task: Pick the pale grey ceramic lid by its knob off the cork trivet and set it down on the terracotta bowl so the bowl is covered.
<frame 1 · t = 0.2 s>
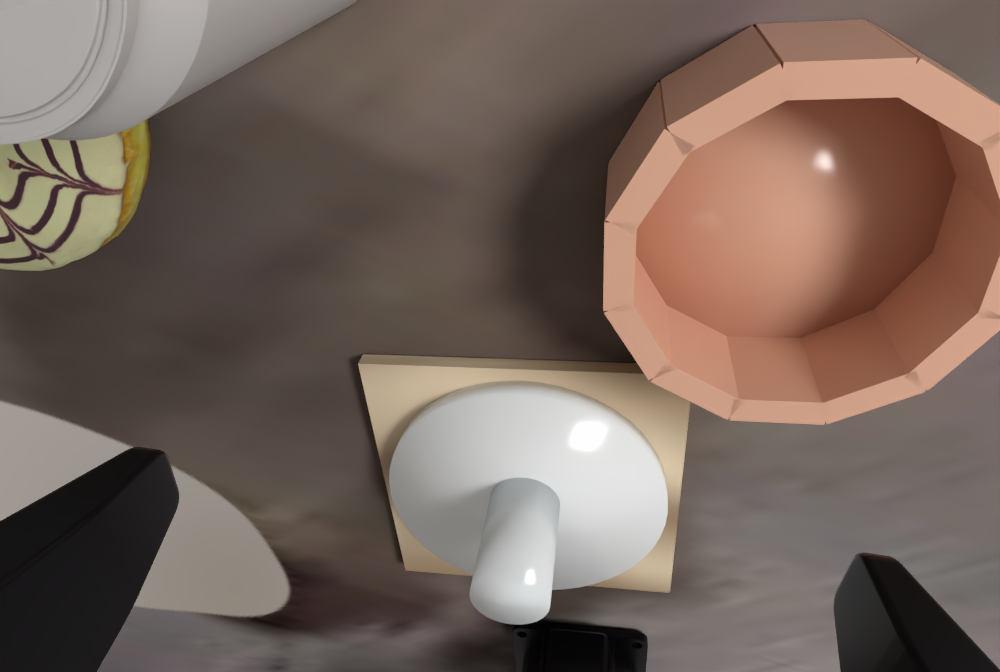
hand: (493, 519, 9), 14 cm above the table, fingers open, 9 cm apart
trivet: (528, 477, 29), on the table
bowl: (778, 204, 21), on the table
decorated donut: (17, 86, 23), on the table
lid: (527, 487, 28), point 1 cm above the table, touching trivet
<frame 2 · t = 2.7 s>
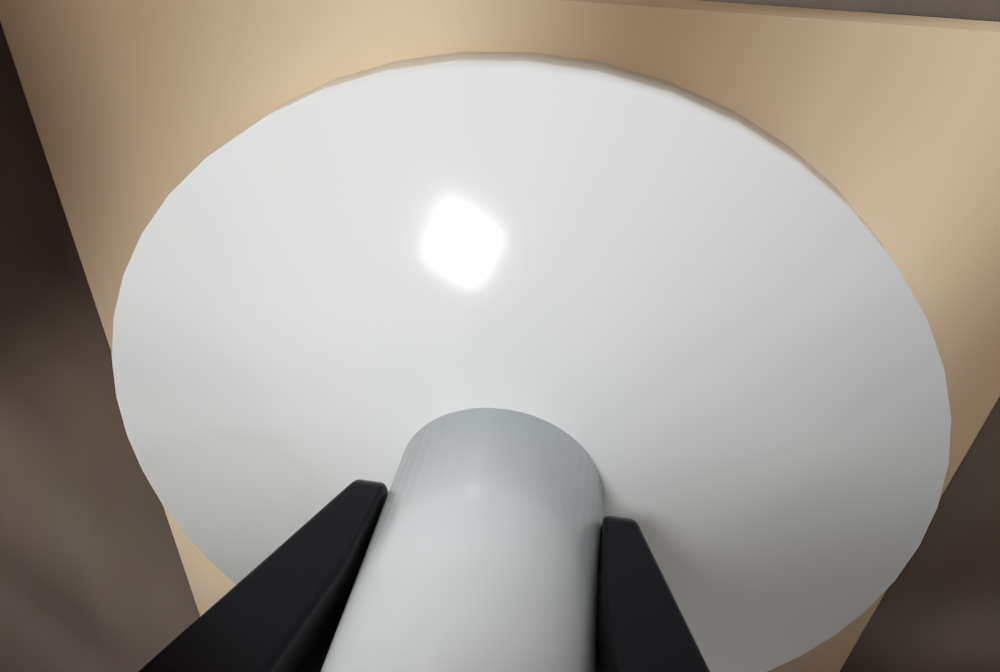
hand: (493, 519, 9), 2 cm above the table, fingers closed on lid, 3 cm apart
trivet: (512, 419, 11), on the table
lid: (508, 446, 10), point 1 cm above the table, touching gripper, trivet
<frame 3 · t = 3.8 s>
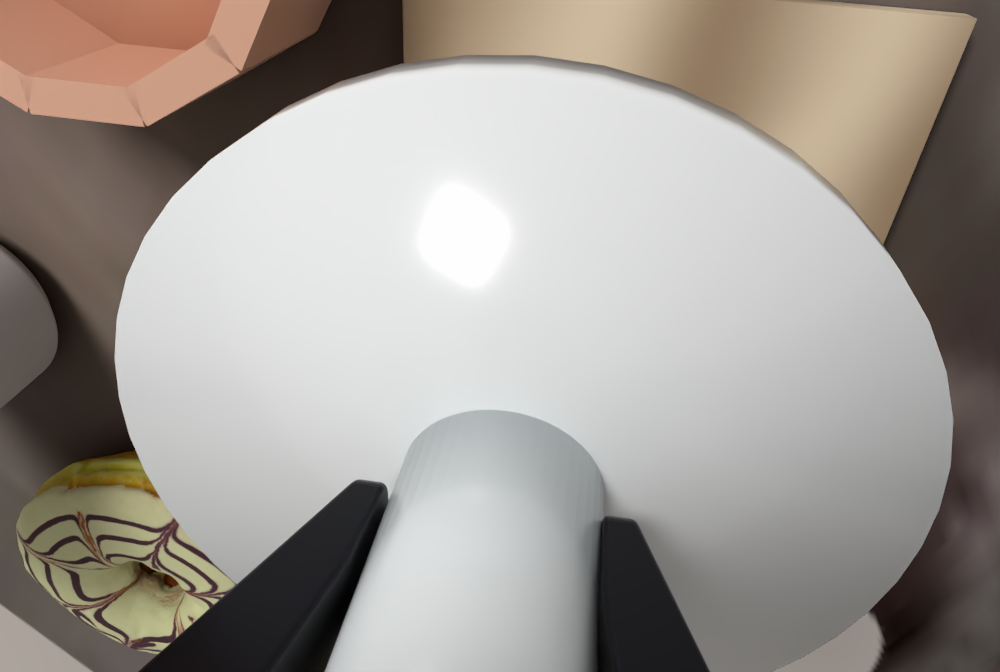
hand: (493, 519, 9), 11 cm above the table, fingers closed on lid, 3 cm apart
trivet: (630, 235, 19), on the table
decorated donut: (191, 523, 30), on the table
lid: (510, 448, 10), point 10 cm above the table, touching gripper
when the fingers open (7 cm above the table, at t = 5.4 s): lid drops 1 cm, resting on bowl.
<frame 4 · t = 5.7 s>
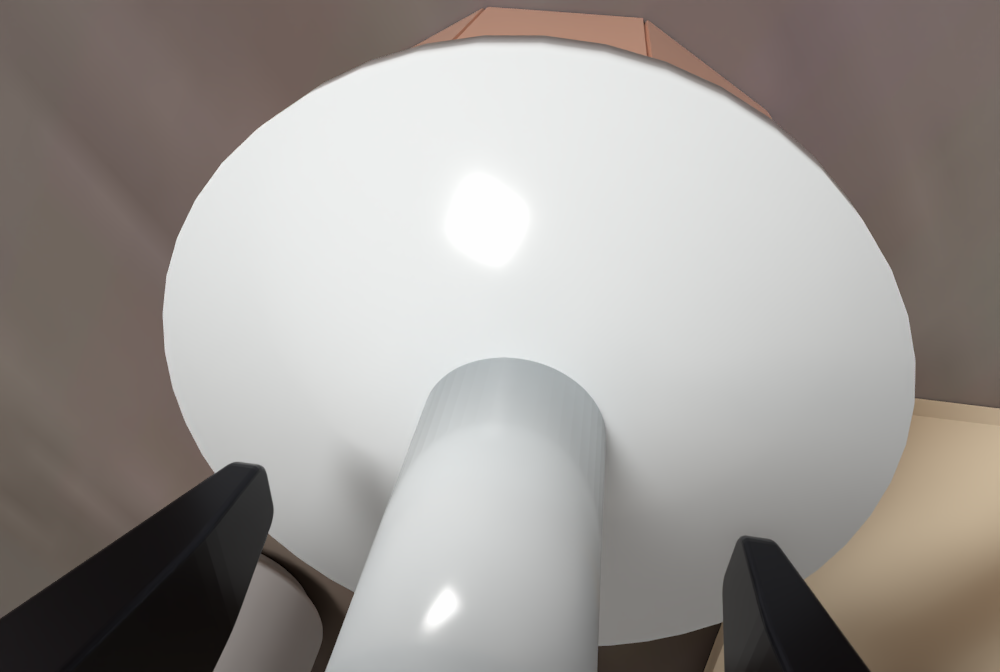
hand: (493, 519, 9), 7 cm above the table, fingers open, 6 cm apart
trivet: (984, 598, 18), on the table
bowl: (541, 273, 14), on the table
lid: (519, 399, 11), point 4 cm above the table, touching bowl
beverage can: (240, 585, 23), on the table
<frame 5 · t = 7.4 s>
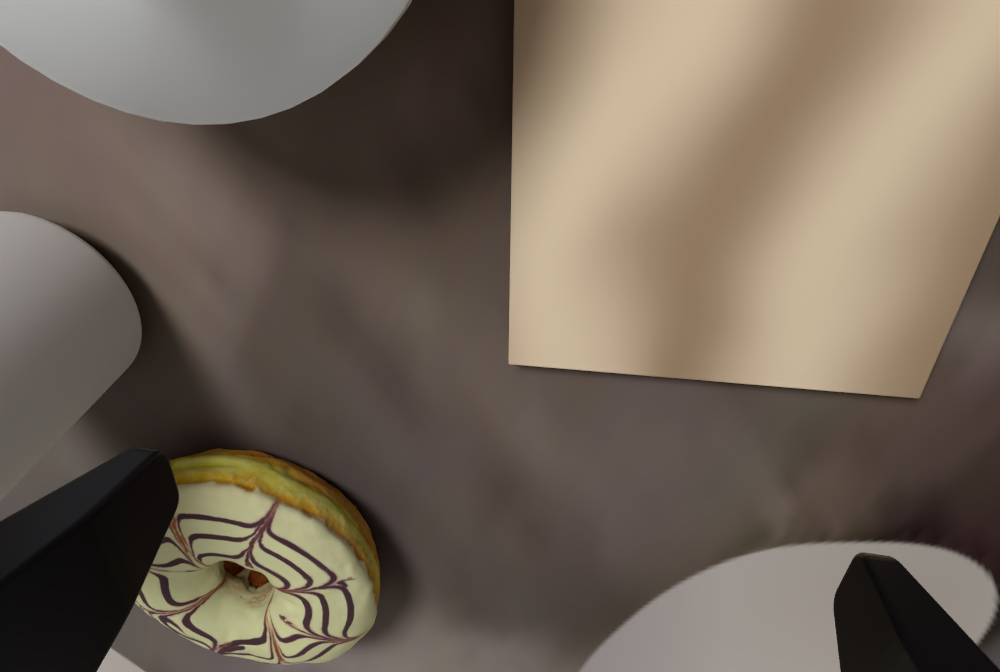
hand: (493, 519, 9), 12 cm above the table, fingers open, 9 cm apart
trivet: (745, 182, 18), on the table
decorated donut: (270, 522, 29), on the table
beverage can: (65, 287, 23), on the table
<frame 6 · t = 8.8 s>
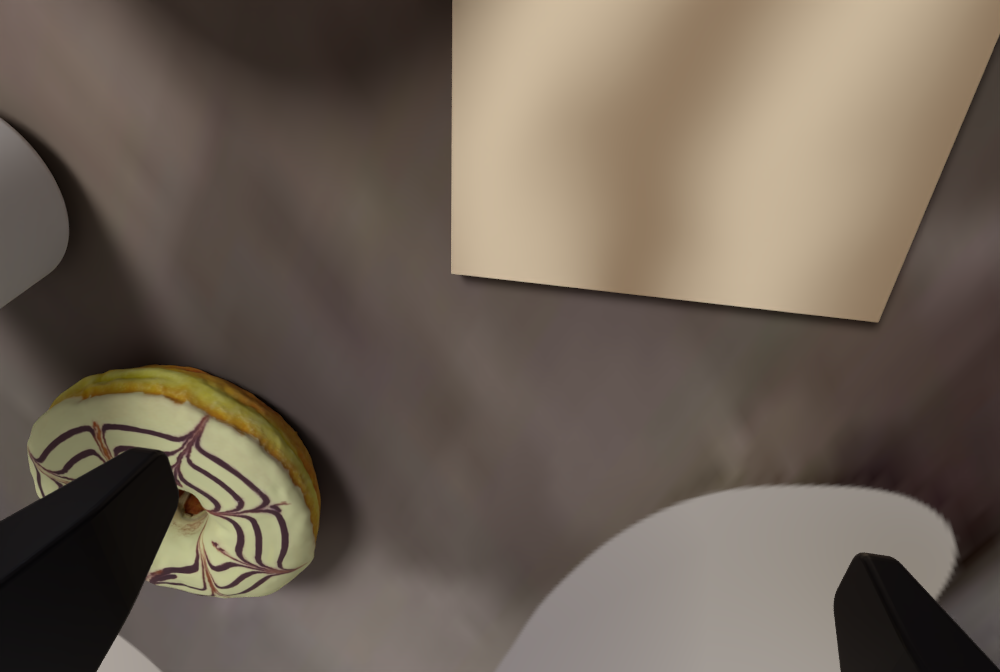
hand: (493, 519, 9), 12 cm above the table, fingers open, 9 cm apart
trivet: (700, 73, 17), on the table
decorated donut: (211, 450, 28), on the table
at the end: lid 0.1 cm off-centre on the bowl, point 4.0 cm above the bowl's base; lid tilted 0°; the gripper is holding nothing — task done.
